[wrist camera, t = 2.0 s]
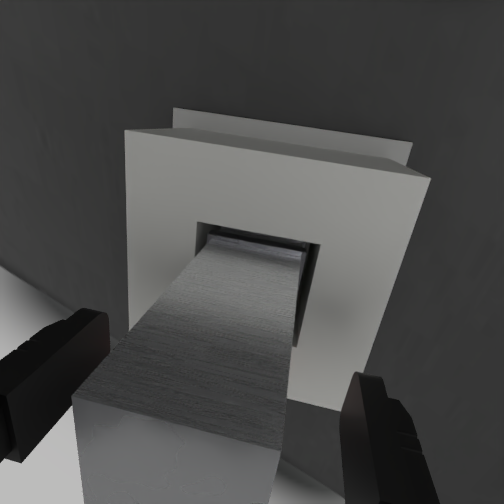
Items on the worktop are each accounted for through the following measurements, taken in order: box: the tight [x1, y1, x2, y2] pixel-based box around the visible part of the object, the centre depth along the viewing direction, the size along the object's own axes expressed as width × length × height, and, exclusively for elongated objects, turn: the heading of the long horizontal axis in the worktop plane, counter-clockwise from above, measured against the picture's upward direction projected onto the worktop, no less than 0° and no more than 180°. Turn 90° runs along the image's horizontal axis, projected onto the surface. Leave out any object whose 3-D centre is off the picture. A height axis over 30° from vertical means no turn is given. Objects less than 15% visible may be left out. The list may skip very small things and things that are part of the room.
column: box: [71, 226, 307, 504], centre depth 14 cm, size 4×4×16 cm
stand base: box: [125, 108, 431, 411], centre depth 18 cm, size 14×14×9 cm
